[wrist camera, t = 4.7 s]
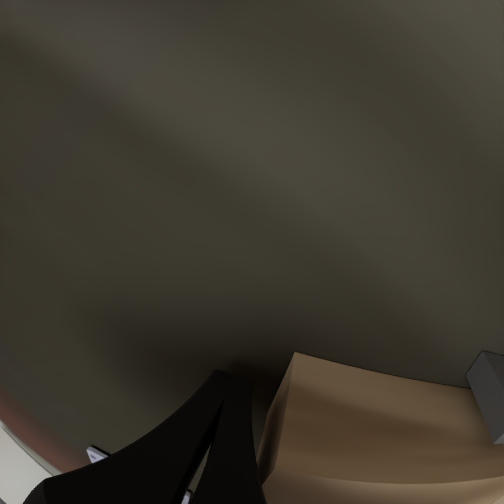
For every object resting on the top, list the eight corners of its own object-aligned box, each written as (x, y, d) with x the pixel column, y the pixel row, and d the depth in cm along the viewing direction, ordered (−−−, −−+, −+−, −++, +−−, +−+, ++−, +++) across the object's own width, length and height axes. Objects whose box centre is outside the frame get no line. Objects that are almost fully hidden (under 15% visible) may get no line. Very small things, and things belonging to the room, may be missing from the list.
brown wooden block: (459, 441, 10) (476, 514, 6) (267, 413, 11) (242, 509, 7) (503, 393, 9) (535, 469, 5) (294, 351, 10) (274, 468, 6)
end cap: (465, 463, 11) (476, 510, 7) (388, 461, 11) (391, 520, 8) (551, 365, 8) (582, 415, 5) (482, 350, 8) (517, 418, 5)
